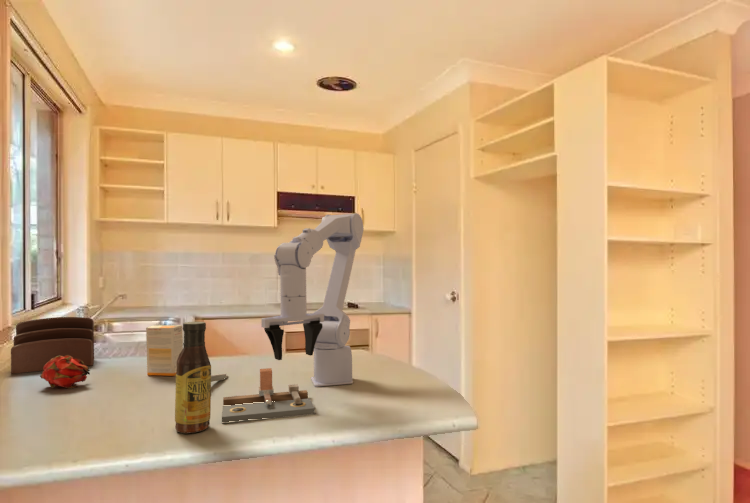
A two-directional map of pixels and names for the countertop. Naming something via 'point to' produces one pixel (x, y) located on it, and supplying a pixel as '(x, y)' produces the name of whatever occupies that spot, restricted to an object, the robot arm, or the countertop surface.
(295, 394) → the rail
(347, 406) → the countertop surface
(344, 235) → the robot arm
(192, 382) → the sauce bottle
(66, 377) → the dragon fruit
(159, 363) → the supplement box
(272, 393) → the orange handled lever
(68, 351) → the letter holder
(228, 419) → the bolt plate
